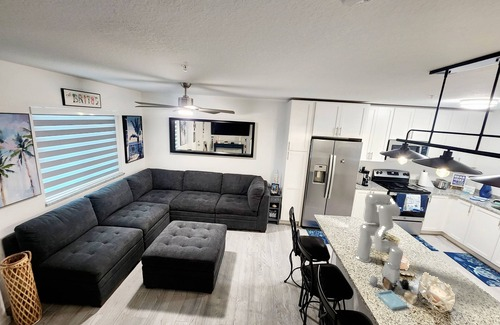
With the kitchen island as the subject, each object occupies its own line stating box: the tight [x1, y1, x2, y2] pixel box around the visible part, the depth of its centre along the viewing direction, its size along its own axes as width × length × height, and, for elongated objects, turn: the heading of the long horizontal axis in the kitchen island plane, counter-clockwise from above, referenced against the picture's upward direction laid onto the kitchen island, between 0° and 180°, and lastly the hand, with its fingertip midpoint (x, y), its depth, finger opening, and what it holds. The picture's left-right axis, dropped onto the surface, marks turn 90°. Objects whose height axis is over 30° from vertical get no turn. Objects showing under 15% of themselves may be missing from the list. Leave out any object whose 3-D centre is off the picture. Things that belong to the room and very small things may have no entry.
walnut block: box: [382, 278, 395, 291], centre depth 147 cm, size 4×4×6 cm
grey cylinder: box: [369, 275, 379, 288], centre depth 149 cm, size 4×4×5 cm
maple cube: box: [403, 290, 418, 306], centre depth 137 cm, size 5×5×5 cm
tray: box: [375, 290, 408, 311], centre depth 136 cm, size 12×12×2 cm
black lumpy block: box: [399, 278, 413, 293], centre depth 150 cm, size 12×7×5 cm, turn 160°
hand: (388, 286), depth 148 cm, fingers open, 6 cm apart
